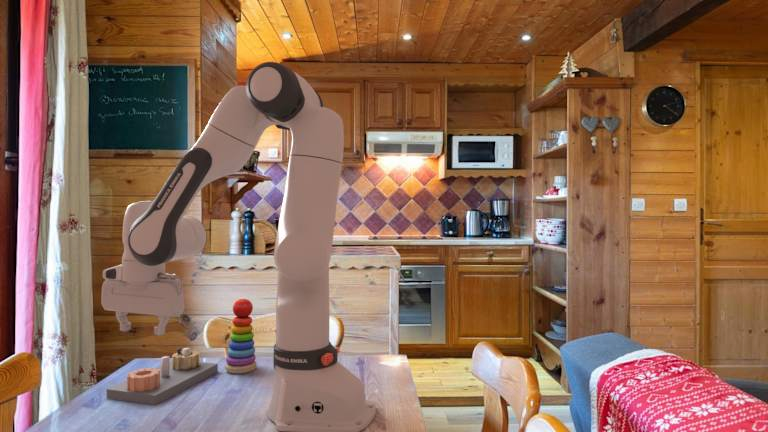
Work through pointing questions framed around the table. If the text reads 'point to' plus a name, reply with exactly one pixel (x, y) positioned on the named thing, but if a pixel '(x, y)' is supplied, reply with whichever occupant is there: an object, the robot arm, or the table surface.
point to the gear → (185, 360)
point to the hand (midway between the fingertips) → (142, 332)
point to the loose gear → (143, 379)
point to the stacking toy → (241, 340)
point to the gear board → (165, 382)
